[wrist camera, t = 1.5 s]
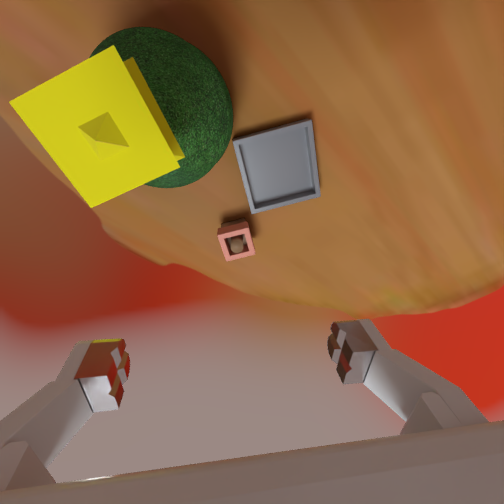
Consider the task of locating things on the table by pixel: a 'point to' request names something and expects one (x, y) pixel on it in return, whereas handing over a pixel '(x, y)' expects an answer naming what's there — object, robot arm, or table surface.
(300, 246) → the table surface
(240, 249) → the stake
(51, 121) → the decorative tree
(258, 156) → the tray
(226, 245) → the ring
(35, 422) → the robot arm
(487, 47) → the table surface
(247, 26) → the table surface
